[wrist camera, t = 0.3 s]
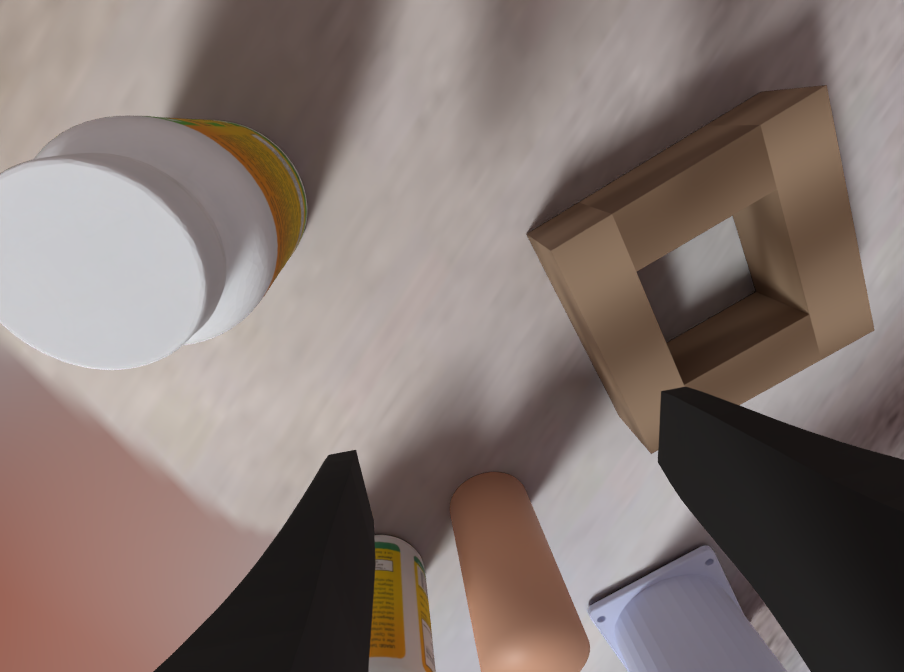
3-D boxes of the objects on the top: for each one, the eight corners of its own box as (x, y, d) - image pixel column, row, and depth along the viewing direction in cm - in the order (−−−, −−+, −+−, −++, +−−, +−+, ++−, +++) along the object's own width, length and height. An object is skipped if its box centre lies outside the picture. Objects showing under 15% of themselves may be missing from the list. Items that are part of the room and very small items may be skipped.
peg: (540, 510, 25) (606, 662, 18) (473, 546, 26) (512, 711, 18) (504, 458, 24) (562, 603, 17) (434, 498, 24) (460, 657, 17)
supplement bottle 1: (253, 90, 16) (111, 44, 8) (336, 233, 19) (303, 326, 10) (115, 165, 17) (-179, 204, 8) (213, 298, 19) (71, 445, 10)
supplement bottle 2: (444, 560, 26) (480, 780, 17) (378, 621, 27) (379, 858, 18) (364, 512, 24) (359, 733, 15) (296, 579, 25) (253, 823, 16)
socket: (815, 306, 23) (874, 330, 20) (619, 416, 24) (651, 454, 21) (761, 91, 19) (826, 85, 16) (526, 234, 20) (550, 250, 17)
